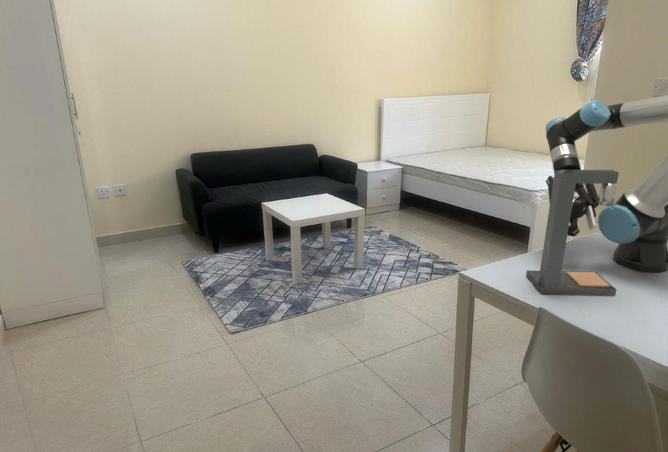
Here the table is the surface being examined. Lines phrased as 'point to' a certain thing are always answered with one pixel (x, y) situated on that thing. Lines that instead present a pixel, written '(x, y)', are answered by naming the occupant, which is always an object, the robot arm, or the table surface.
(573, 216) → the battery charger
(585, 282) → the pad
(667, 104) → the robot arm
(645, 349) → the table surface
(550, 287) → the arbor press
